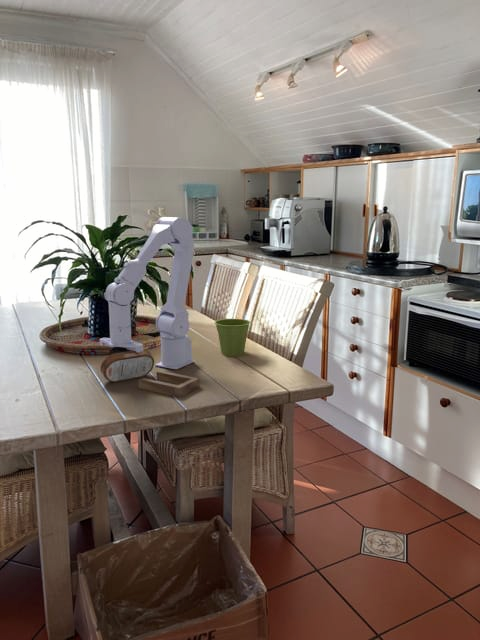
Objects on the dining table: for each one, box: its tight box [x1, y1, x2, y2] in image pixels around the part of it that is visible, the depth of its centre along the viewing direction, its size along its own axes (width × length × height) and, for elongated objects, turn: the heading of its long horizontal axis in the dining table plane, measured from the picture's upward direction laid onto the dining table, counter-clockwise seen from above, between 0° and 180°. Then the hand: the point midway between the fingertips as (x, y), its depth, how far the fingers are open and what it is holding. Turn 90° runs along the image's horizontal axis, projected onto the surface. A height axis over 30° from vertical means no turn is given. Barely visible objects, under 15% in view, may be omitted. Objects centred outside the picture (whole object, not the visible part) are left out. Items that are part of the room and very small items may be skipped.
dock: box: [138, 370, 201, 398], centre depth 140 cm, size 9×14×2 cm, turn 60°
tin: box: [100, 349, 155, 383], centre depth 146 cm, size 15×3×8 cm, turn 124°
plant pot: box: [213, 318, 252, 357], centre depth 171 cm, size 12×12×11 cm
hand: (122, 373), depth 148 cm, fingers closed, pressing on tin
